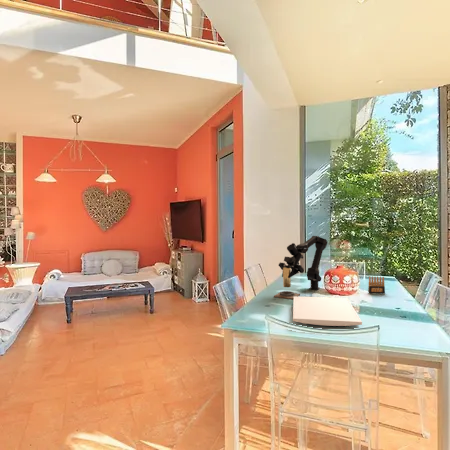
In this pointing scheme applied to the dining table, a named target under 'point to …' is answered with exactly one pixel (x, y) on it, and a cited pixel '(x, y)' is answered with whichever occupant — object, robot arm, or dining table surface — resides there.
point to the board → (324, 311)
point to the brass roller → (286, 277)
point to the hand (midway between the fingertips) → (285, 277)
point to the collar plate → (286, 295)
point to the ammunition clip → (376, 285)
